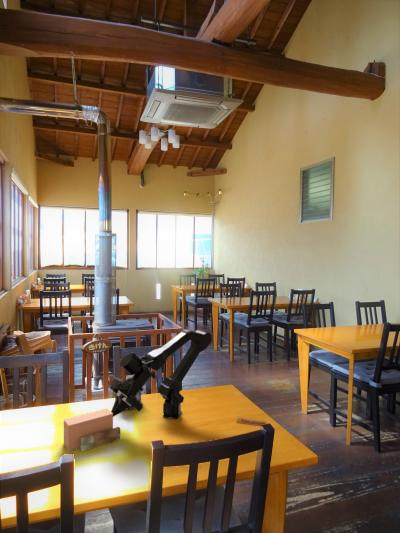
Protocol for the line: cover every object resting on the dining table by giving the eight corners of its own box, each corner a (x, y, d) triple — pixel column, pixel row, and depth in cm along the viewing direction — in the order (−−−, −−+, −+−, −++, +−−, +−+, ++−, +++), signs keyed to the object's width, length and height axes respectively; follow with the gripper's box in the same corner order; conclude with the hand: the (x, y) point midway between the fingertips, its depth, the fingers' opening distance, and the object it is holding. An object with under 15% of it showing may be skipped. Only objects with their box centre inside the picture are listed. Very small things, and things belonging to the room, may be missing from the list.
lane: (107, 426, 142) (107, 416, 142) (120, 439, 133) (120, 428, 133) (71, 437, 134) (71, 426, 134) (81, 451, 125) (81, 439, 124)
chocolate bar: (237, 420, 150) (237, 415, 150) (266, 424, 147) (266, 419, 147) (236, 423, 147) (236, 418, 147) (266, 427, 144) (266, 422, 144)
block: (107, 431, 139) (107, 408, 138) (112, 437, 134) (113, 413, 134) (63, 444, 129) (63, 419, 129) (68, 451, 125) (68, 425, 124)
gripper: (114, 363, 146) (87, 396, 140) (135, 376, 131) (106, 414, 125) (132, 378, 151) (106, 411, 145) (154, 393, 136) (127, 430, 130)
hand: (110, 416), depth 136 cm, fingers closed
